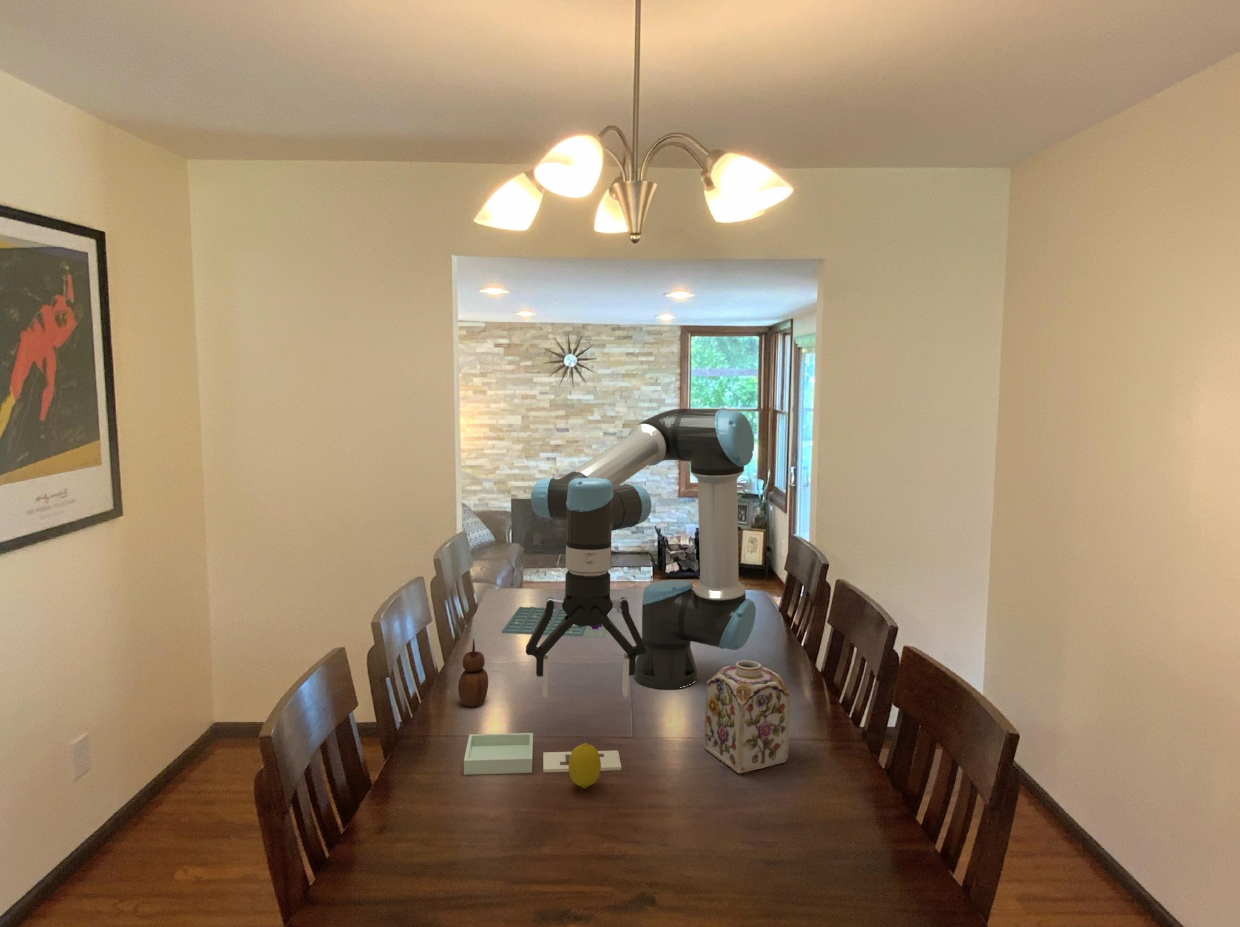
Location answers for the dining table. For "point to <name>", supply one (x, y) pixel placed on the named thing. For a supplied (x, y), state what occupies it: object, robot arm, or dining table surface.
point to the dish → (499, 753)
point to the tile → (561, 759)
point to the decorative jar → (747, 716)
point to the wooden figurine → (473, 679)
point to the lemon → (584, 765)
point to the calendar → (530, 617)
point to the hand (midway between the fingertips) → (585, 694)
